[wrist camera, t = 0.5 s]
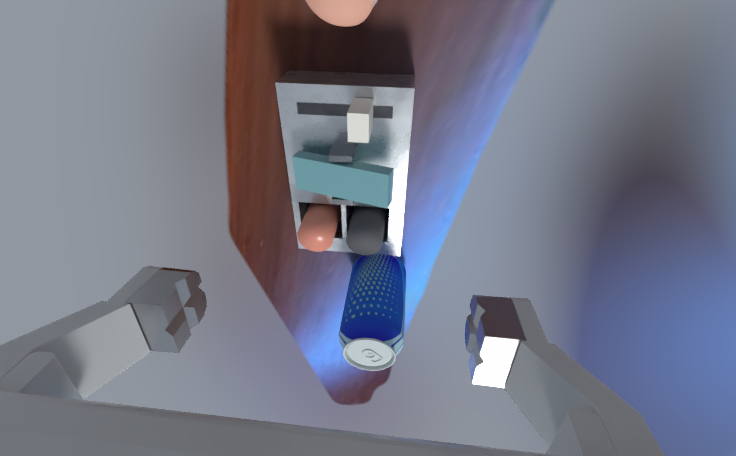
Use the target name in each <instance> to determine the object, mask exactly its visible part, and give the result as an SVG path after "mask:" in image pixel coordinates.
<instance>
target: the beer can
mask: <svg viewBox="0 0 736 456" xmlns="http://www.w3.org/2000/svg"><path fill="white" fill-rule="evenodd" d="M405 291H406V270H405V267H404V265H403V263H402V262H401V261H400V260H399V259H398V258H397V257H396V256H390V255H378V254H372V255H362V256H360V257H359V258H358V259H357V260H356V261H355V262H354V264H353V267H352V272H351V277H350V282H349V287H348V292H347V297H346V301H345V306H344V311H343V316H342V321H341V326H340V331H339V341H340V343H341V346H342V348H343V356H344V358H345V359H346V361H347V362H349V363H350V364H351V365H353V366H355V367H357V368H360V369H364V370H370V371H376V370H383V369H386V368H388V367H390V366H391V365H392V364H393V363H394V362H395V359H396V355H397V354H398V353H399V352H400V351H401V349H402V347H403V344H404V321H405Z"/></svg>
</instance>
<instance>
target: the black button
mask: <svg viewBox="0 0 736 456" xmlns="http://www.w3.org/2000/svg"><path fill="white" fill-rule="evenodd" d="M385 218H386V210H385V208H380V207H365V206H354V209H353V213H352V217H351V221H350V225H349V229H348V233H347V237H346V243H347V245H348V247H349V248H350V249H351V250H352V251H353V252H355V253H357V254H360V255H372V254H375V253H377V252H378V251H379V250H380V249H381V247H382V244H383V235H384V227H385Z"/></svg>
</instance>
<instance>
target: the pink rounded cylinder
mask: <svg viewBox="0 0 736 456" xmlns="http://www.w3.org/2000/svg"><path fill="white" fill-rule="evenodd" d="M340 216H341V208H340V205H336V204H321V203H310V204H309V206H308V209H307V211H306V213H305V216H304V218H303V220H302V223H301V225H300V227H299V230H298V233H297V237H298V240H299V242H300V243H301V245H302V246H304V247H305V248H307V249H309V250H311V251H316V252H321V251H325V250H327V249H329V248H330V247H331V245H332V243H333V240H334V236H335V233H336V229H337V226H338V223H339V219H340Z"/></svg>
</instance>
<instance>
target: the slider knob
mask: <svg viewBox="0 0 736 456" xmlns="http://www.w3.org/2000/svg"><path fill="white" fill-rule="evenodd" d="M372 128H373V99H371V98H353V100H352V103H351V105H350V107H349V110H348V112H347V132H348V142H357V143H369V139H370V135H371V132H372Z"/></svg>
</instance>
